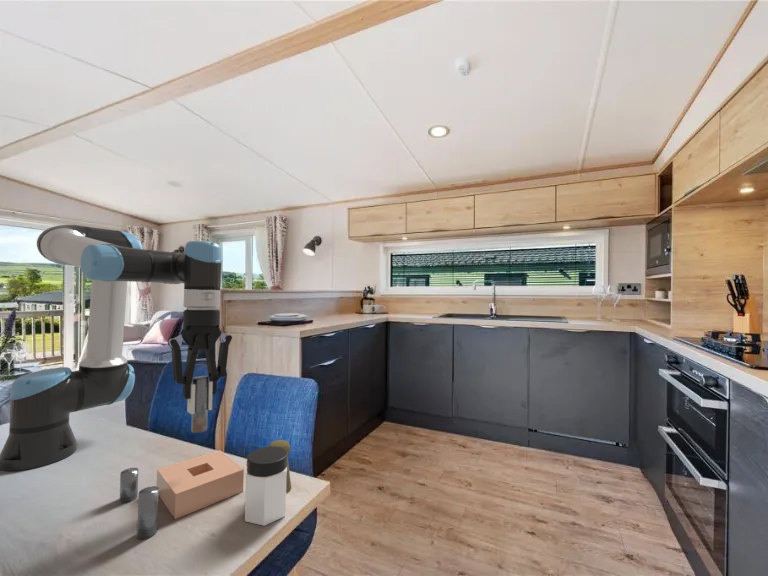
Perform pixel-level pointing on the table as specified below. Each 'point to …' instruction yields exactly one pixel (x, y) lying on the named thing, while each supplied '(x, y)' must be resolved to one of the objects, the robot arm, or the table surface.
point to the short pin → (128, 485)
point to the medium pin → (147, 512)
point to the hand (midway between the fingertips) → (199, 410)
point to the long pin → (200, 404)
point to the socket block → (199, 482)
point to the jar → (266, 485)
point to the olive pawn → (286, 446)
